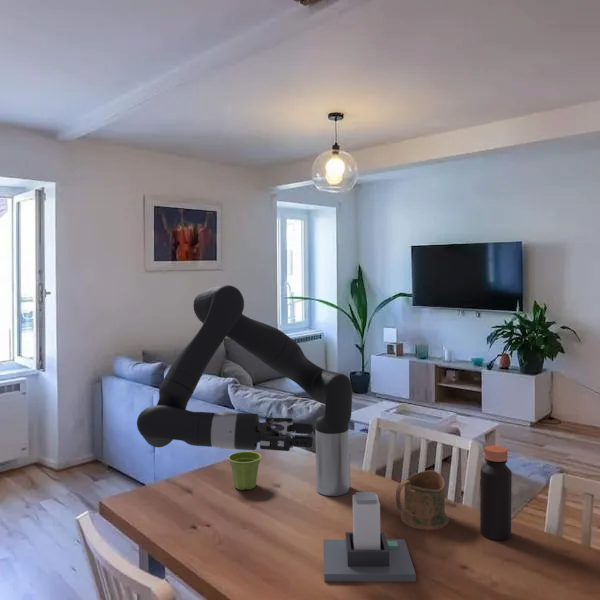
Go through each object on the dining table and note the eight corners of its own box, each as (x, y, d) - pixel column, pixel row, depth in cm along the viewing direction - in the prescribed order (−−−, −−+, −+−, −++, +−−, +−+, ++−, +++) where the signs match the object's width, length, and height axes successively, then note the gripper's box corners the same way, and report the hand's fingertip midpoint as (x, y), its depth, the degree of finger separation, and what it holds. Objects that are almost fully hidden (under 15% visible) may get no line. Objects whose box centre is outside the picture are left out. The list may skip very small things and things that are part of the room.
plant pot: (243, 477, 164) (243, 449, 164) (268, 484, 159) (267, 454, 158) (222, 488, 157) (221, 458, 156) (247, 495, 151) (246, 464, 151)
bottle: (483, 524, 132) (484, 442, 131) (513, 531, 128) (514, 446, 127) (477, 536, 126) (477, 450, 125) (508, 543, 123) (508, 455, 121)
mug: (377, 528, 131) (376, 479, 130) (416, 504, 144) (416, 459, 143) (420, 544, 123) (419, 491, 122) (457, 517, 136) (457, 470, 135)
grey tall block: (353, 549, 118) (352, 491, 117) (377, 549, 118) (376, 491, 117) (355, 562, 113) (354, 501, 112) (380, 562, 113) (379, 501, 112)
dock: (324, 581, 109) (324, 559, 109) (323, 545, 123) (323, 526, 123) (415, 581, 108) (415, 559, 108) (404, 546, 122) (404, 526, 122)
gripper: (231, 423, 108) (313, 427, 108) (240, 404, 122) (313, 408, 122) (229, 460, 109) (311, 465, 108) (239, 437, 123) (311, 441, 123)
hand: (312, 434), depth 115 cm, fingers open, 8 cm apart
